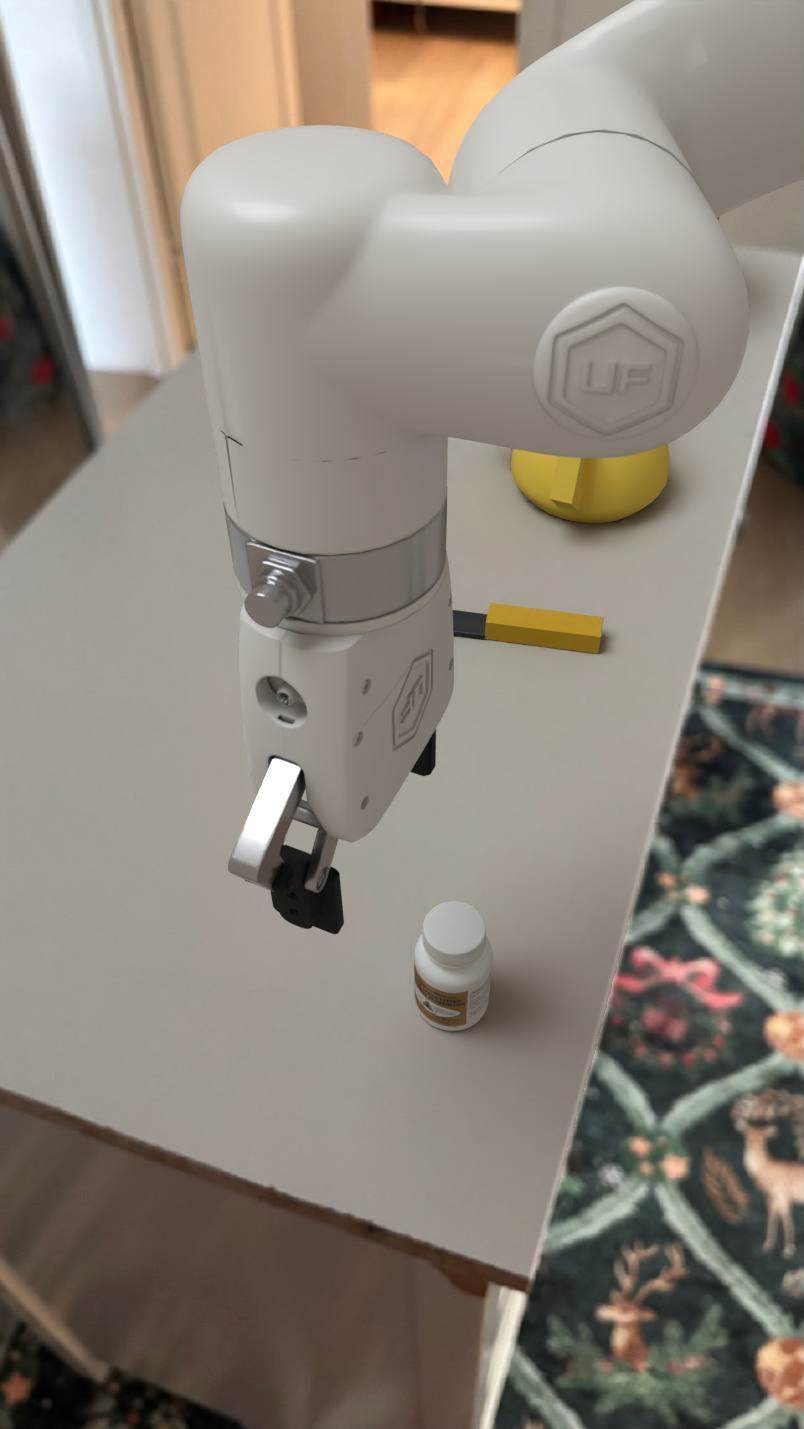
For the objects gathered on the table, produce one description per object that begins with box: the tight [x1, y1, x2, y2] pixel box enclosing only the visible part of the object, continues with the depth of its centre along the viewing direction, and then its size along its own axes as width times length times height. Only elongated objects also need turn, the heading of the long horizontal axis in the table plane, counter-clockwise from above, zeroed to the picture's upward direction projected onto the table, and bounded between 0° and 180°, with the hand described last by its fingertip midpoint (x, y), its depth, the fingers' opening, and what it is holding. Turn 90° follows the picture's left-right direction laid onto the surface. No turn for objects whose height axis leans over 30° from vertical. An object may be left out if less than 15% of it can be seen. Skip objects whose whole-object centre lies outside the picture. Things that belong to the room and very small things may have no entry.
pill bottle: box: [413, 900, 494, 1032], centre depth 61 cm, size 4×4×8 cm
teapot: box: [510, 443, 670, 524], centre depth 97 cm, size 20×18×11 cm
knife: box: [452, 602, 604, 655], centre depth 86 cm, size 20×3×2 cm, turn 78°
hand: (359, 836), depth 50 cm, fingers open, 9 cm apart
